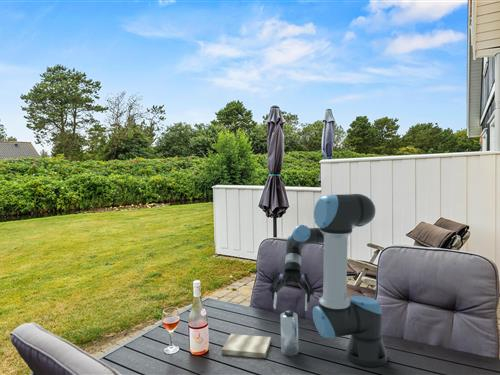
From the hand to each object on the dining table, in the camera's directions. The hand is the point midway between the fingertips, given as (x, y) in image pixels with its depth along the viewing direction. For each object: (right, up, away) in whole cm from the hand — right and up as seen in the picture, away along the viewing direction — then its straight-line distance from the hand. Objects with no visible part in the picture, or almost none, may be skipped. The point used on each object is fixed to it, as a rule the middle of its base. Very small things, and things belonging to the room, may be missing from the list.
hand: (290, 308), depth 148 cm
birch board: (-19, -15, -4) cm, 24 cm away
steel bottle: (-1, -15, -8) cm, 17 cm away
